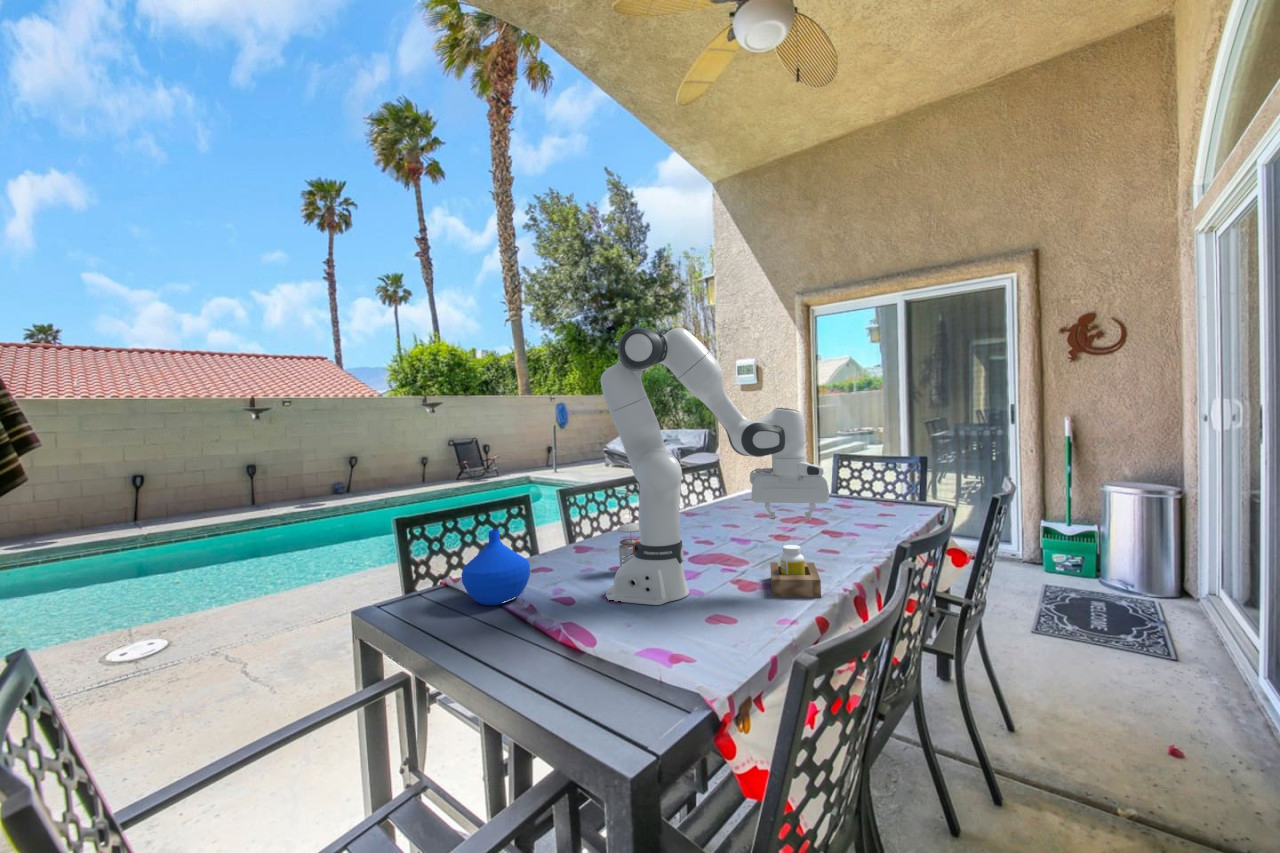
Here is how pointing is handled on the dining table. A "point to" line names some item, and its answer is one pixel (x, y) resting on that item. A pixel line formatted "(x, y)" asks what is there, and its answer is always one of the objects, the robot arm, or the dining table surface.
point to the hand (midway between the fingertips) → (790, 519)
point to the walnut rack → (795, 582)
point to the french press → (627, 542)
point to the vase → (495, 573)
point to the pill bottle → (792, 561)
